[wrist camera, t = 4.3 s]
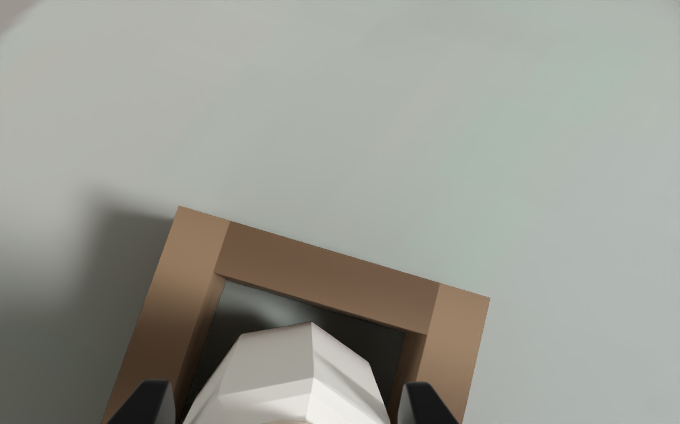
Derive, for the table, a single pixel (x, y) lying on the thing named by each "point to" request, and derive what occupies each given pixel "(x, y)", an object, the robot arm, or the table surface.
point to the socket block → (301, 285)
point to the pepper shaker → (290, 382)
